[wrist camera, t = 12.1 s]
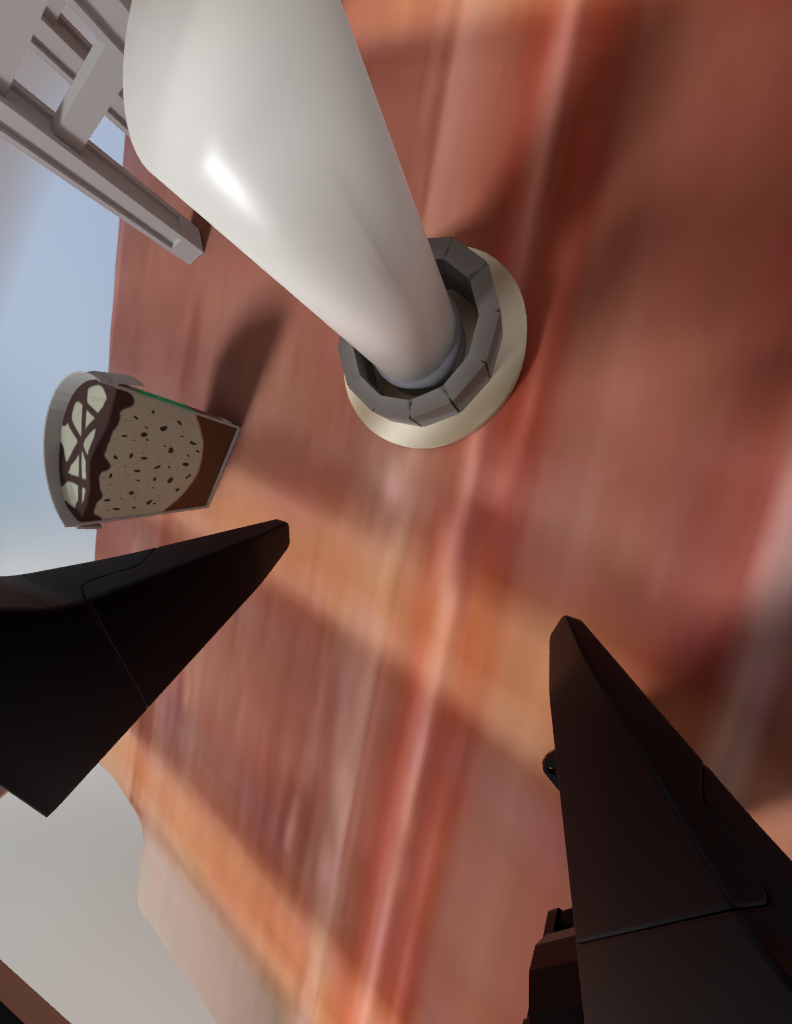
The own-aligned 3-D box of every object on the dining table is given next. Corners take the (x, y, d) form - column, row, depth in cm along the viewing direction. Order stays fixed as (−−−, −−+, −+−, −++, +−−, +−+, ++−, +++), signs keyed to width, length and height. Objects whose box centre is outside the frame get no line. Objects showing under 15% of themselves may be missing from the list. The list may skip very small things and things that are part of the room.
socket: (575, 331, 16) (590, 288, 13) (428, 485, 20) (410, 484, 17) (429, 223, 19) (409, 164, 15) (325, 378, 23) (291, 359, 19)
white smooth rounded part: (485, 339, 17) (378, -155, 4) (423, 413, 19) (207, 243, 6) (423, 288, 18) (183, -218, 5) (370, 362, 20) (93, 127, 7)
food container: (209, 381, 28) (57, 329, 19) (247, 413, 26) (102, 372, 17) (171, 485, 32) (29, 484, 22) (203, 519, 30) (63, 533, 21)
